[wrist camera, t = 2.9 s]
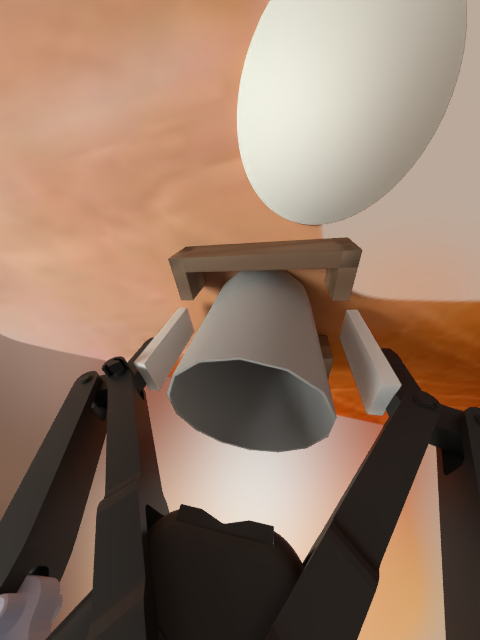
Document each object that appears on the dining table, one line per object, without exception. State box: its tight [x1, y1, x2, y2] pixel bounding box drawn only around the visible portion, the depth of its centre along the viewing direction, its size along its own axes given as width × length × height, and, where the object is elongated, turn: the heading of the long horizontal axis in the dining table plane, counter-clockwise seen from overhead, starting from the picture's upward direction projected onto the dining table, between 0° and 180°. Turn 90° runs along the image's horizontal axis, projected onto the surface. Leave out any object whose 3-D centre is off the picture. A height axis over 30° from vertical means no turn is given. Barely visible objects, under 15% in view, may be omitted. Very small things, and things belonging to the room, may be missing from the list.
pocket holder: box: [168, 238, 362, 378], centre depth 16 cm, size 12×12×3 cm
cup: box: [167, 270, 336, 452], centre depth 14 cm, size 8×8×10 cm
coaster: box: [237, 0, 467, 225], centre depth 10 cm, size 10×10×1 cm
